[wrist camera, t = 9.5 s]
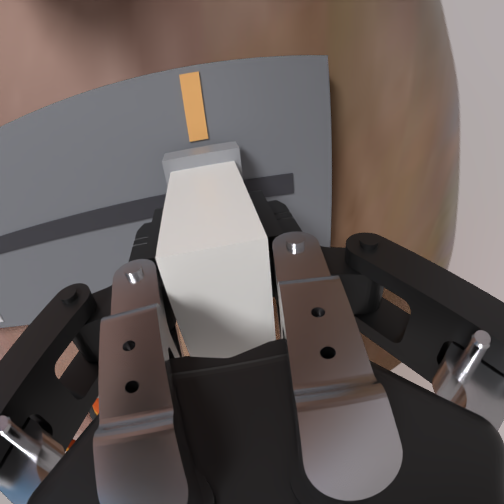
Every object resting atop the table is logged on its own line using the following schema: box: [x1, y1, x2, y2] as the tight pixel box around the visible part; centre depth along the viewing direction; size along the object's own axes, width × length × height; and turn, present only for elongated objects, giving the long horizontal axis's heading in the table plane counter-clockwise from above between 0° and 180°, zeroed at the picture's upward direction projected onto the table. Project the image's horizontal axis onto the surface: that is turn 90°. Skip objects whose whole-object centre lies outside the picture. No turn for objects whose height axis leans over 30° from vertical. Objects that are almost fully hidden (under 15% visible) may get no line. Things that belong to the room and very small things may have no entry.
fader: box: [155, 141, 276, 358], centre depth 11 cm, size 5×3×7 cm, turn 6°
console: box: [0, 55, 332, 328], centre depth 14 cm, size 12×28×2 cm, turn 96°
